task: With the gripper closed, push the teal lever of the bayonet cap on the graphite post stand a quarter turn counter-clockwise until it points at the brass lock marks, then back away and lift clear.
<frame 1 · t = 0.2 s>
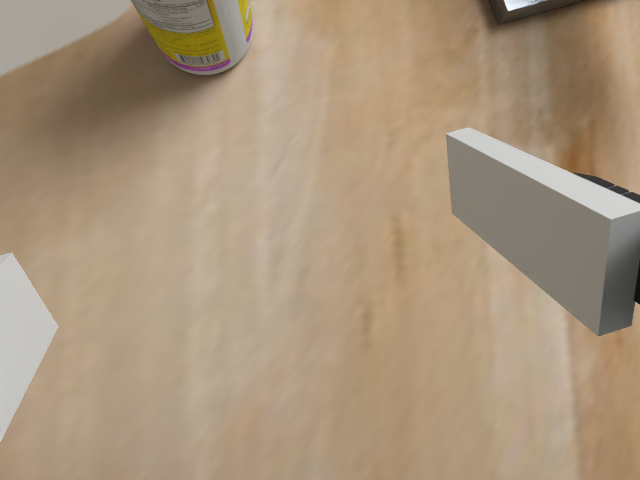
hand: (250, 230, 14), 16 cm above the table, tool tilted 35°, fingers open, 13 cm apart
supplement bottle: (206, 35, 31), on the table
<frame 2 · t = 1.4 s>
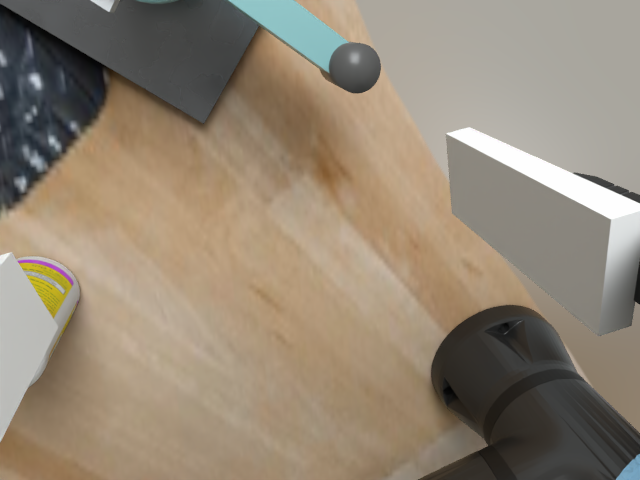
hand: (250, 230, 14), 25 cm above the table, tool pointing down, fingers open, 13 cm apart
supplement bottle: (41, 286, 40), on the table
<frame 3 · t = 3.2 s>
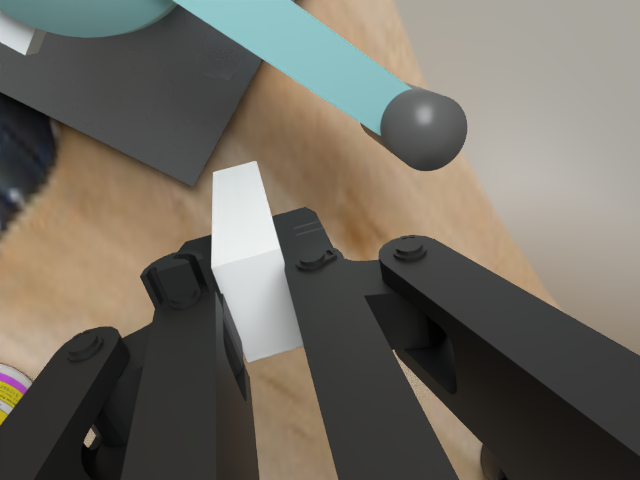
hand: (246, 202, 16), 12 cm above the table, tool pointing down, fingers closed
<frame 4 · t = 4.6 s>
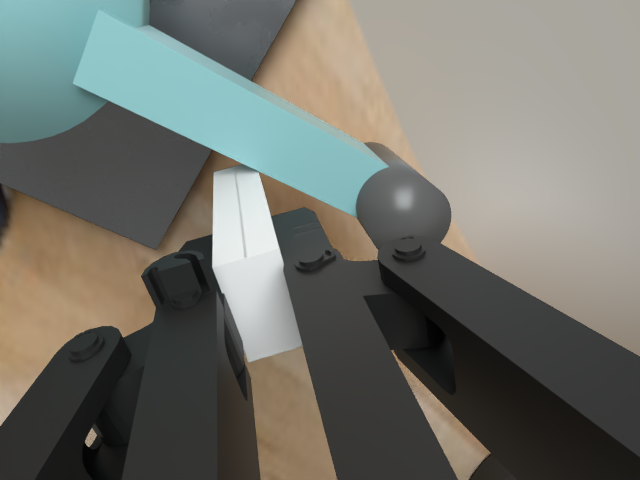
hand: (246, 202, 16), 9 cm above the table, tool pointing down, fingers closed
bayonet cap: (169, 85, 13), point 10 cm above the table, hinge at 3.7°, touching gripper
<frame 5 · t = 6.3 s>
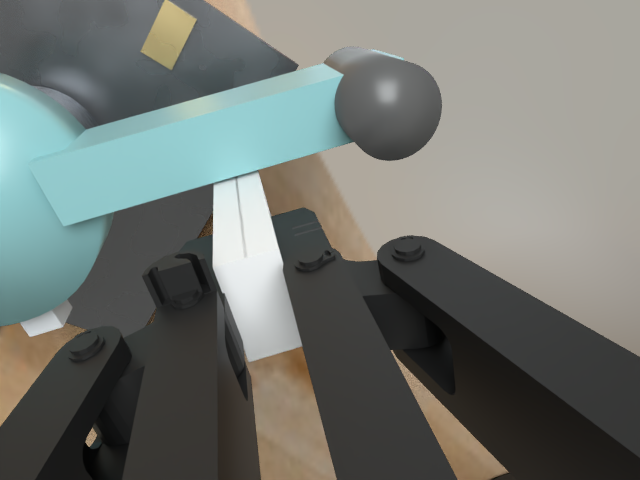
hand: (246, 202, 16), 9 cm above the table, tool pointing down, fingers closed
post base: (55, 135, 22), on the table
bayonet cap: (123, 168, 14), point 10 cm above the table, hinge at 46.9°, touching gripper
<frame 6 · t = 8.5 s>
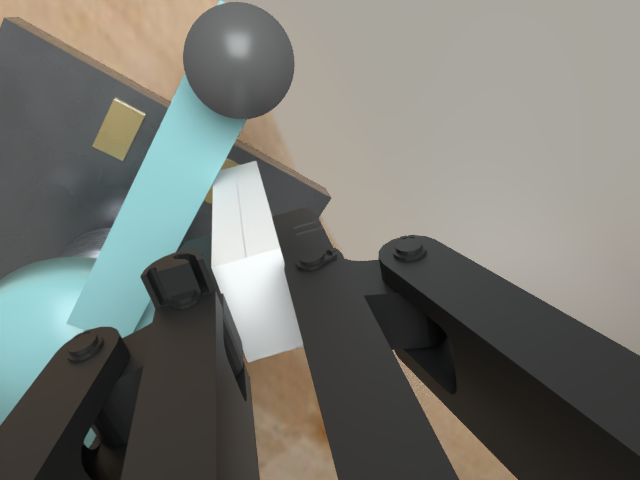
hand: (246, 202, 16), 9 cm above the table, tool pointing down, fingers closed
post base: (119, 257, 25), on the table
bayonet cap: (126, 273, 15), point 10 cm above the table, hinge at 91.1°, touching gripper
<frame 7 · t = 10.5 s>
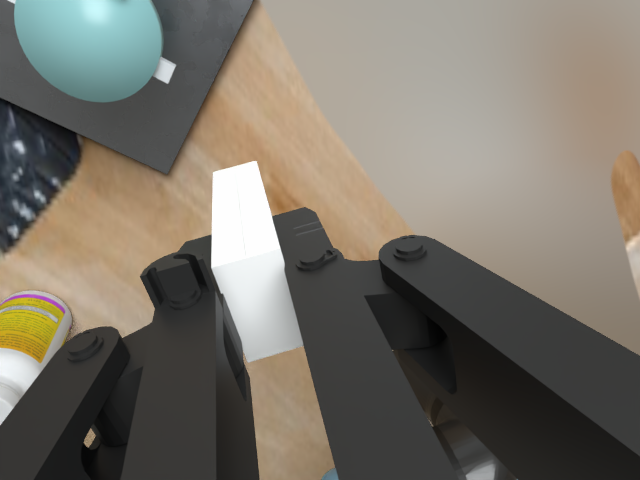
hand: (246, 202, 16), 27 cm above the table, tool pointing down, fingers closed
post base: (118, 26, 36), on the table
supplement bottle: (37, 314, 46), on the table
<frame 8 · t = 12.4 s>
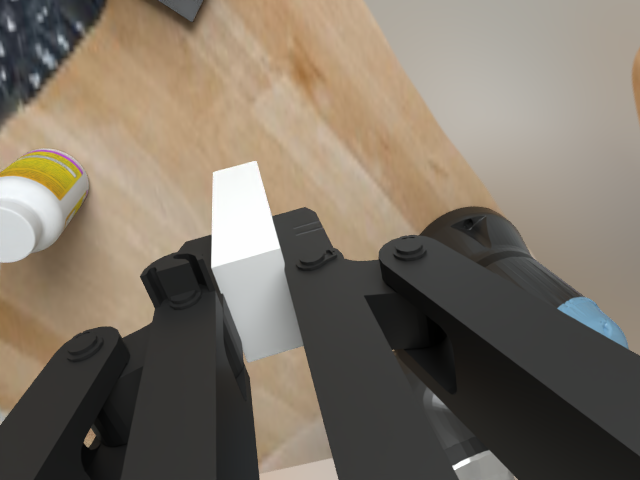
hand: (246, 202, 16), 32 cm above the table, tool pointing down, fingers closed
supplement bottle: (54, 179, 45), on the table
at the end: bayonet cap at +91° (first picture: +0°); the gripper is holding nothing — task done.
